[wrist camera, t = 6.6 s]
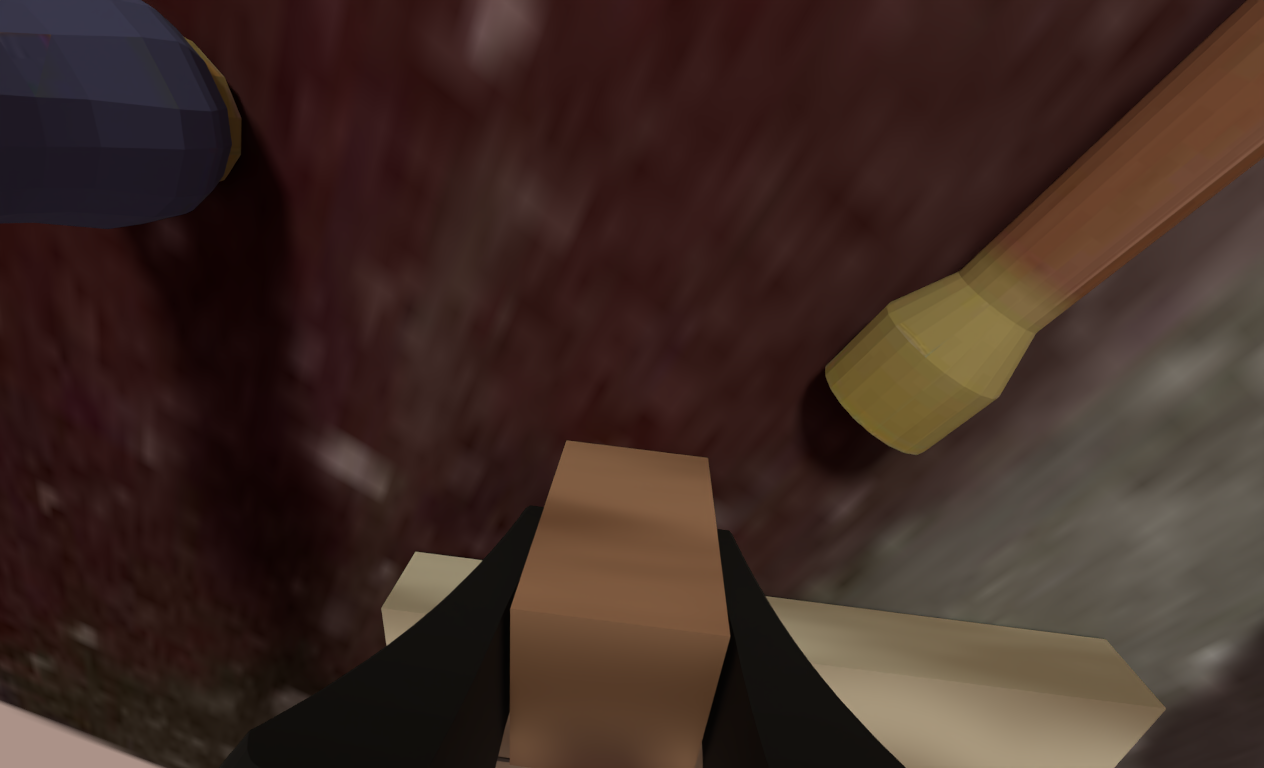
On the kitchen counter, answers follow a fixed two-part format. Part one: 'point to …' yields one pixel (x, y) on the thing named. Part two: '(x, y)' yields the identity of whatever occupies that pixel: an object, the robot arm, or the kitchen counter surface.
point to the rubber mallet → (107, 115)
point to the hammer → (1060, 245)
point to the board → (921, 680)
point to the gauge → (618, 614)
